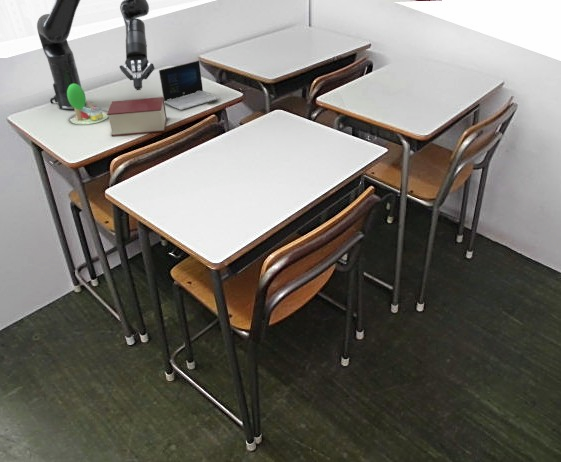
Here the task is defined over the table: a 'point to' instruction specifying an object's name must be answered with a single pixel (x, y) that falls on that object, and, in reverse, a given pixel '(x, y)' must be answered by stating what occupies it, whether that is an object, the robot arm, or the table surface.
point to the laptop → (184, 86)
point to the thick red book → (137, 116)
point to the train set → (83, 107)
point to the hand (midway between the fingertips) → (138, 89)
